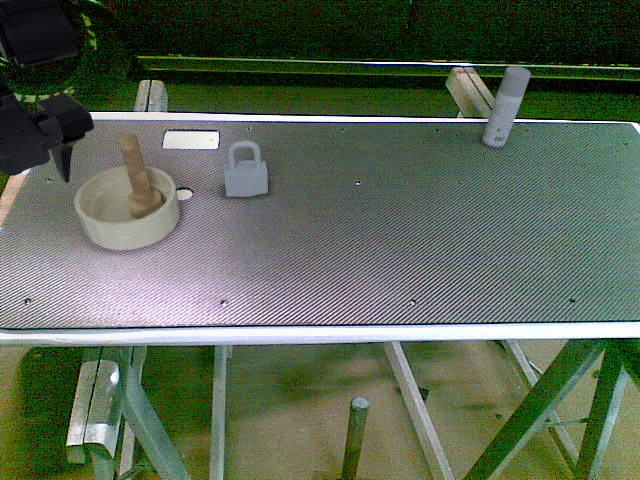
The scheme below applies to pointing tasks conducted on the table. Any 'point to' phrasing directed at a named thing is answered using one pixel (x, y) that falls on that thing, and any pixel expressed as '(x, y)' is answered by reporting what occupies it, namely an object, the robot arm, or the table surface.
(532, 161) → the table surface
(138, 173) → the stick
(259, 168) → the padlock
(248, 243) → the table surface
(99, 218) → the bowl
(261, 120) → the table surface
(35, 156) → the robot arm
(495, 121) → the container
